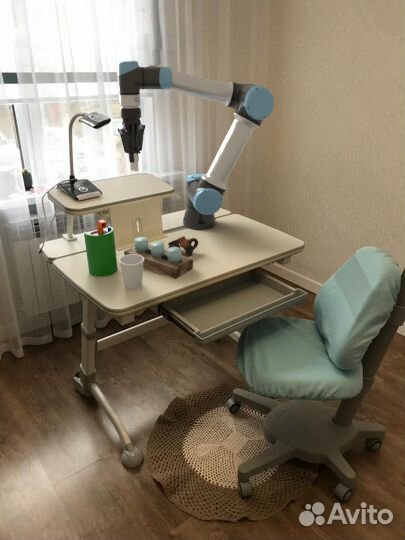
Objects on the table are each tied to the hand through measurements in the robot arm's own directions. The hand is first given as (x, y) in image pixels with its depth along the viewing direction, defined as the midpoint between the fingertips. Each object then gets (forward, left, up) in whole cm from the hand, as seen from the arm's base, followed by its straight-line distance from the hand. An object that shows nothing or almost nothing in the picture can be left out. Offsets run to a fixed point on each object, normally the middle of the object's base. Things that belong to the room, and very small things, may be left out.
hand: (134, 170), depth 171 cm
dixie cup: (+31, +27, -30) cm, 51 cm away
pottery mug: (0, +24, -30) cm, 38 cm away
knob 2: (+14, +23, -29) cm, 40 cm away
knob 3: (+14, +31, -29) cm, 45 cm away
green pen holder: (+30, +11, -30) cm, 43 cm away
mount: (+14, +23, -29) cm, 40 cm away
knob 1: (+14, +15, -29) cm, 36 cm away
